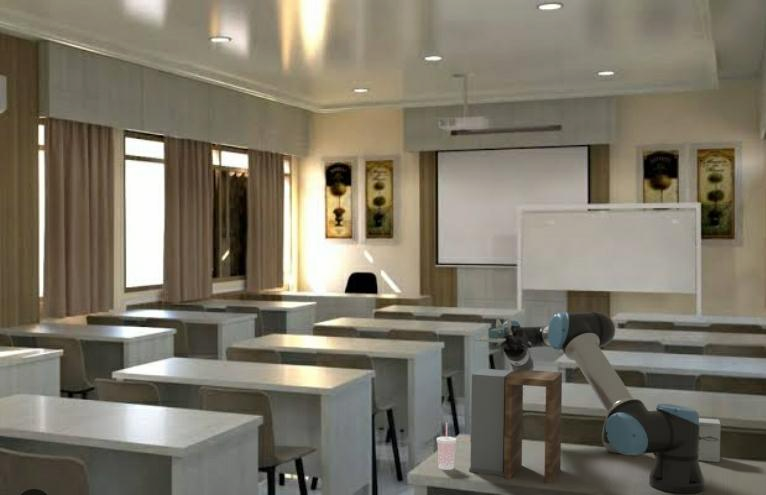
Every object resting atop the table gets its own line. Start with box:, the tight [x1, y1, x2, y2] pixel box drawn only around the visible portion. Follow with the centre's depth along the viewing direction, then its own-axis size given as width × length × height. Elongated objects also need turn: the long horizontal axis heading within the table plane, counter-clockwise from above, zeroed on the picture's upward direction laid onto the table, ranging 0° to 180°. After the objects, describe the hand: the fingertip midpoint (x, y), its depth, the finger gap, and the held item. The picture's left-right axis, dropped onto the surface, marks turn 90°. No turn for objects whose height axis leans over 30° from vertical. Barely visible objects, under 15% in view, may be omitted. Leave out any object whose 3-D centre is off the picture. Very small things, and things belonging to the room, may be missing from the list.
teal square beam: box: [475, 325, 510, 343], centre depth 277 cm, size 8×26×3 cm, turn 159°
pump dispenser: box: [601, 416, 620, 454], centre depth 290 cm, size 10×10×15 cm
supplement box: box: [698, 417, 722, 463], centre depth 282 cm, size 7×7×13 cm
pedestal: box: [468, 368, 514, 476], centre depth 268 cm, size 11×13×30 cm
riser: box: [503, 369, 563, 484], centre depth 262 cm, size 14×16×30 cm
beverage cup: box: [436, 422, 457, 471], centre depth 268 cm, size 6×6×14 cm
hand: (502, 322), depth 281 cm, fingers closed on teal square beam, 3 cm apart
